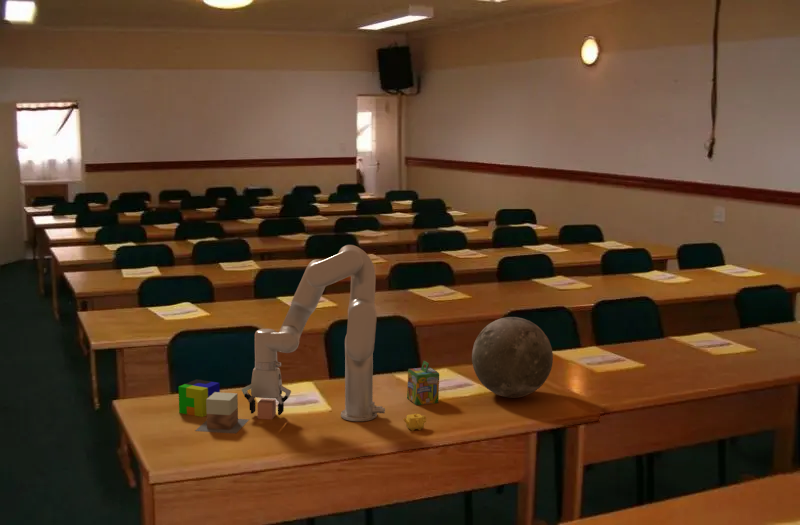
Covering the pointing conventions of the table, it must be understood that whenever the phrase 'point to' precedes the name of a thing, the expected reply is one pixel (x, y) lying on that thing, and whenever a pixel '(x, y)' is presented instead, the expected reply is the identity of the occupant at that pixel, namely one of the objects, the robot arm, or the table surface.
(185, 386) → the puzzle toy
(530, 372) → the globe
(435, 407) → the table surface
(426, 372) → the chalk box
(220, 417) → the tower base
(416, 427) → the teapot
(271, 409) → the terracotta block
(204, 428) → the mat
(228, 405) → the tower top
